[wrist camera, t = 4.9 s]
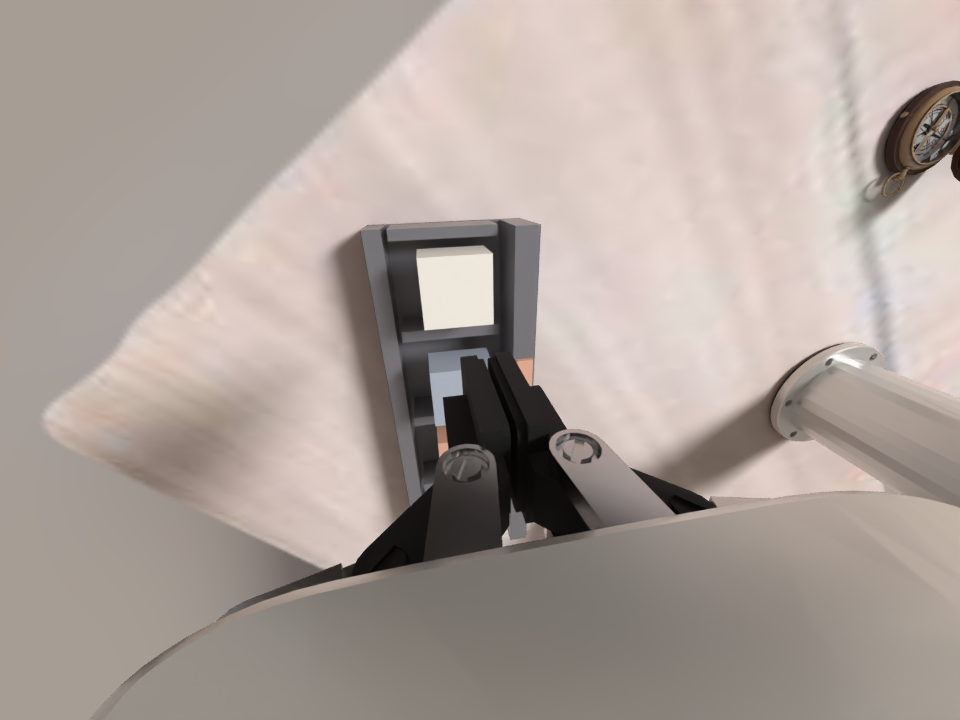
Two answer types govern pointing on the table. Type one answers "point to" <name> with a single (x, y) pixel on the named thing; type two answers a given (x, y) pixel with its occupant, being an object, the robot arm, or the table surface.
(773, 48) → the table surface
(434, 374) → the key slate
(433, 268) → the key ivory
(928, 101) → the compass
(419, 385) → the grey compartment tray
